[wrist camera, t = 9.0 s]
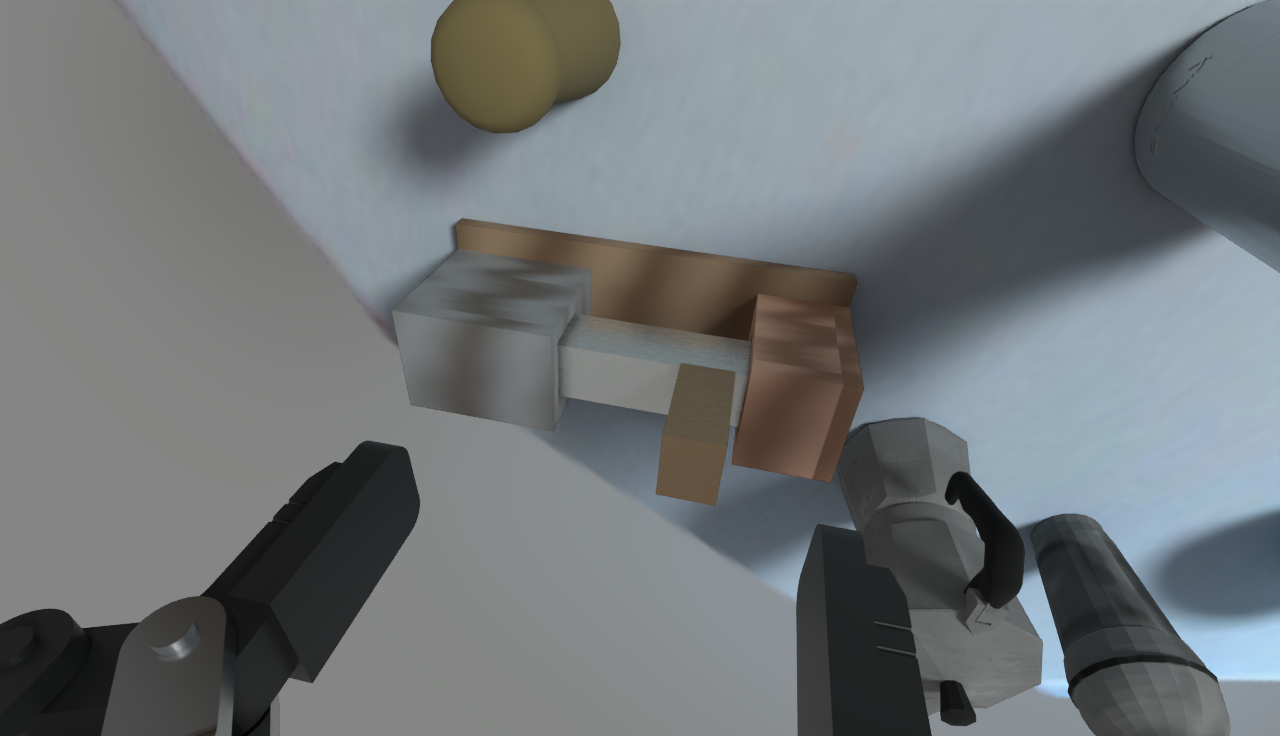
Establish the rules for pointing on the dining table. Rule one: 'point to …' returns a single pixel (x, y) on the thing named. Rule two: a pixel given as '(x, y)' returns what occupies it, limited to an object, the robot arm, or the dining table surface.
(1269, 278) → the dining table surface
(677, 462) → the two-tone wooden block
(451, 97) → the cork
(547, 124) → the dining table surface
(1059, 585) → the beverage cup
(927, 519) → the coffeepot
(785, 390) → the block assembly on base
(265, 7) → the dining table surface
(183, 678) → the robot arm
